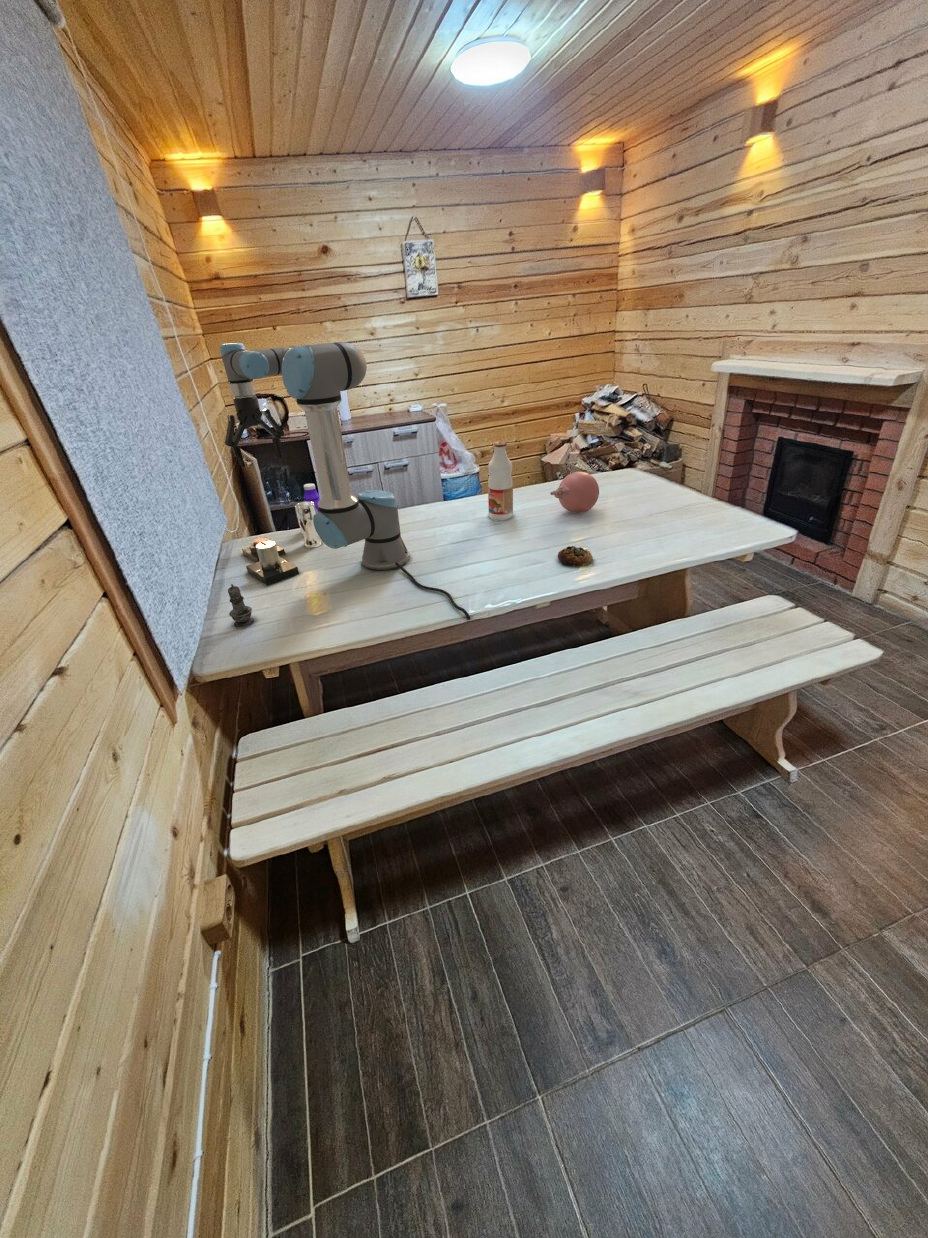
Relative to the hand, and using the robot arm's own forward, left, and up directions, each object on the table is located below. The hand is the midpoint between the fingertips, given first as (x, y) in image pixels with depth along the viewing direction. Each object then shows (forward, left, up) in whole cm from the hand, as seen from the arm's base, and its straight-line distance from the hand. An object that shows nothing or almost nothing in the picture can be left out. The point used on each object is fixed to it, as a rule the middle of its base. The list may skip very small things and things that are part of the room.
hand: (261, 461), depth 181 cm
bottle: (-5, -13, -28) cm, 32 cm away
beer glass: (-17, -4, -28) cm, 33 cm away
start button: (-11, +12, -24) cm, 29 cm away
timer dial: (-28, +17, -25) cm, 41 cm away
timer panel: (-28, +17, -28) cm, 43 cm away
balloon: (-70, -87, -28) cm, 116 cm away
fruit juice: (-51, -67, -28) cm, 89 cm away
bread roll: (-96, -53, -28) cm, 113 cm away
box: (-11, +12, -28) cm, 32 cm away
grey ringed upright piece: (-51, +37, -28) cm, 69 cm away
